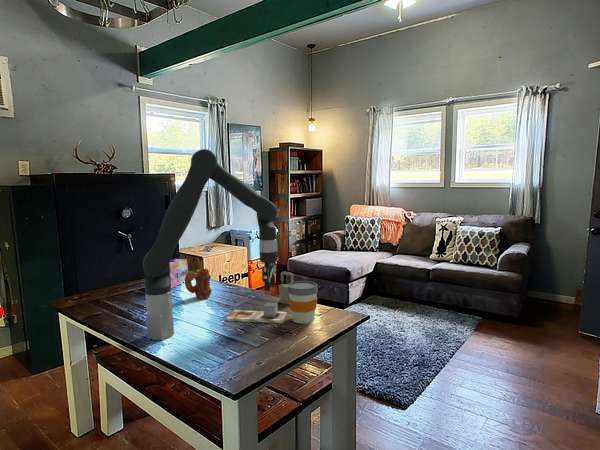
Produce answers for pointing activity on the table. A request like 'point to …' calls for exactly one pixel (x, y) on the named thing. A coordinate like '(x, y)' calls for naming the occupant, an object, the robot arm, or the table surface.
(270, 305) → the grey block
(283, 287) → the padlock
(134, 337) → the table surface
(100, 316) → the table surface
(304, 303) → the reusable coffee cup
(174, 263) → the gum box
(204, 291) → the mug
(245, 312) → the beige flat rectangular frame
